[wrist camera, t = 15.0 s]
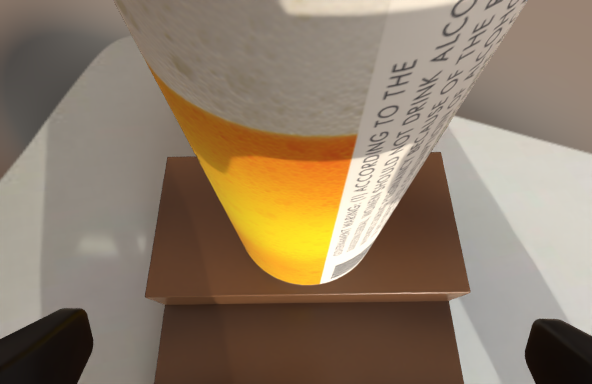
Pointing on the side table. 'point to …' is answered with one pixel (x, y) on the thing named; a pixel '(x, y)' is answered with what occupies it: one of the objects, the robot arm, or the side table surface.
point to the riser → (305, 296)
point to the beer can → (314, 109)
